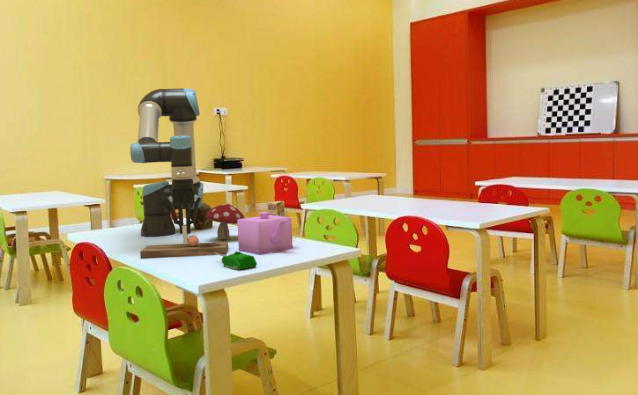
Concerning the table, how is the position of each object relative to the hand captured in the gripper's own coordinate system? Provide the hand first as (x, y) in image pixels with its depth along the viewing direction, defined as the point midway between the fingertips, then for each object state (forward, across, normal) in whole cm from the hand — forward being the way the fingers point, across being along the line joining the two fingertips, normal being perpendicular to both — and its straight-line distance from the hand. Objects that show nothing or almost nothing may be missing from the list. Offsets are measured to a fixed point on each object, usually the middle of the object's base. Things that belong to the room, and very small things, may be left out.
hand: (185, 242), depth 210 cm
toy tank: (+4, +18, -24) cm, 31 cm away
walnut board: (+4, 0, 0) cm, 4 cm away
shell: (+4, -2, +63) cm, 63 cm away
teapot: (+4, +30, -1) cm, 30 cm away
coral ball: (-1, +3, 0) cm, 3 cm away
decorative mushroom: (+4, +13, +26) cm, 30 cm away
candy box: (+4, +34, +22) cm, 40 cm away
